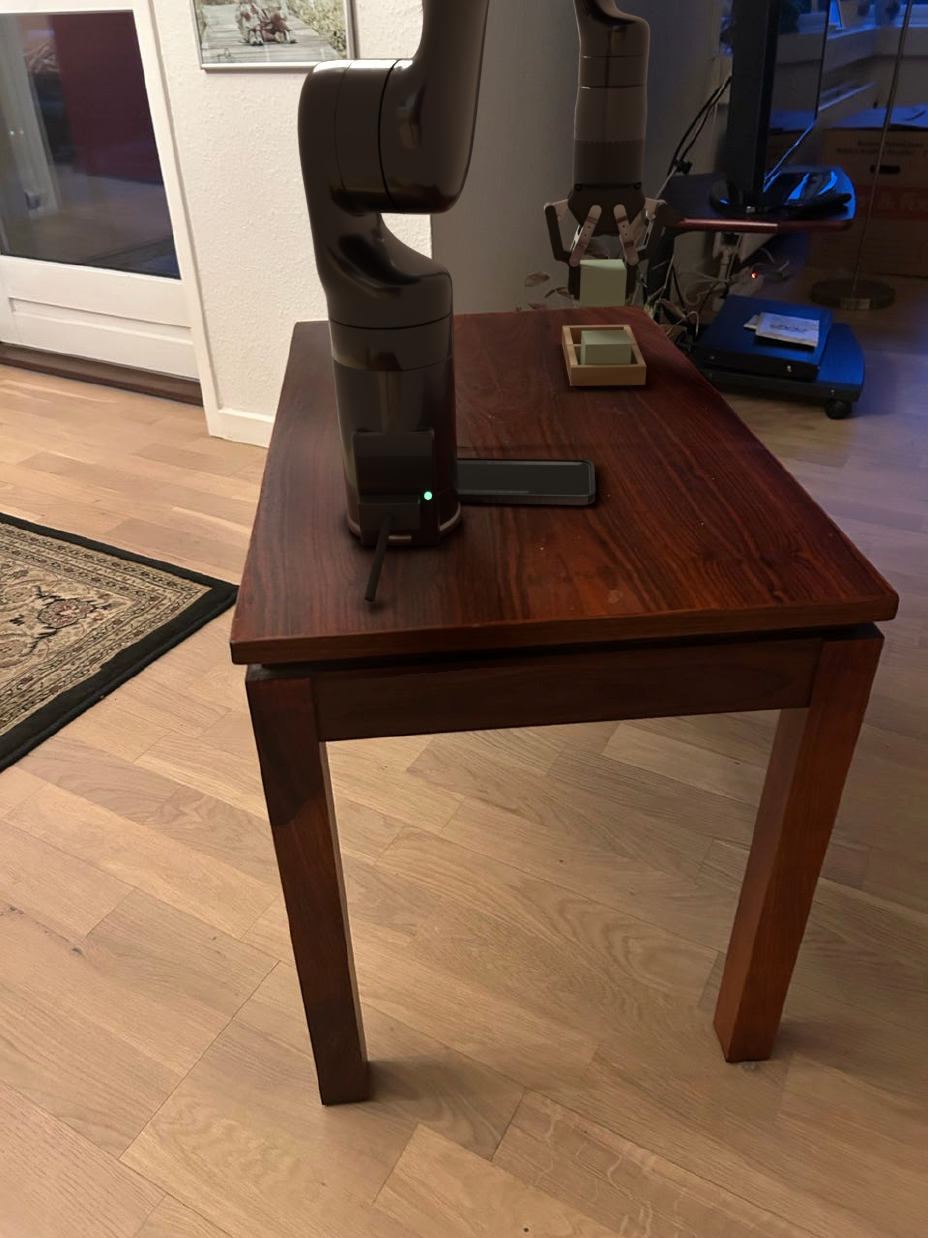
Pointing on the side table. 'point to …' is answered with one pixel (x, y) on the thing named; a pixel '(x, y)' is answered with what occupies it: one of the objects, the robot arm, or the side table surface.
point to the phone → (526, 481)
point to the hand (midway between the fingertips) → (600, 296)
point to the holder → (601, 373)
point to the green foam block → (605, 347)
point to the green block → (602, 283)
